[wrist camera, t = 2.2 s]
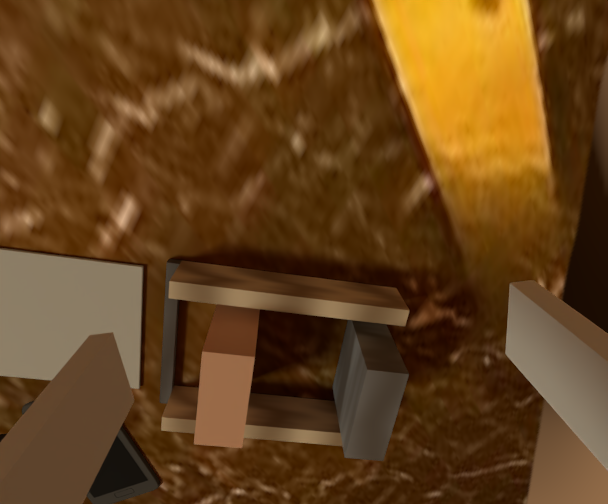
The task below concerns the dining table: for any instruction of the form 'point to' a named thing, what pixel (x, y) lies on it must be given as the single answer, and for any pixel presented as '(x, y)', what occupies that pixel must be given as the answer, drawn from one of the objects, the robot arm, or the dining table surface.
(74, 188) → the dining table surface
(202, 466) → the dining table surface
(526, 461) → the dining table surface
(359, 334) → the rectangular frame
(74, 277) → the mat
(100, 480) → the cell phone
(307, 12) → the dining table surface
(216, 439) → the peach rectangular prism
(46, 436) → the robot arm
